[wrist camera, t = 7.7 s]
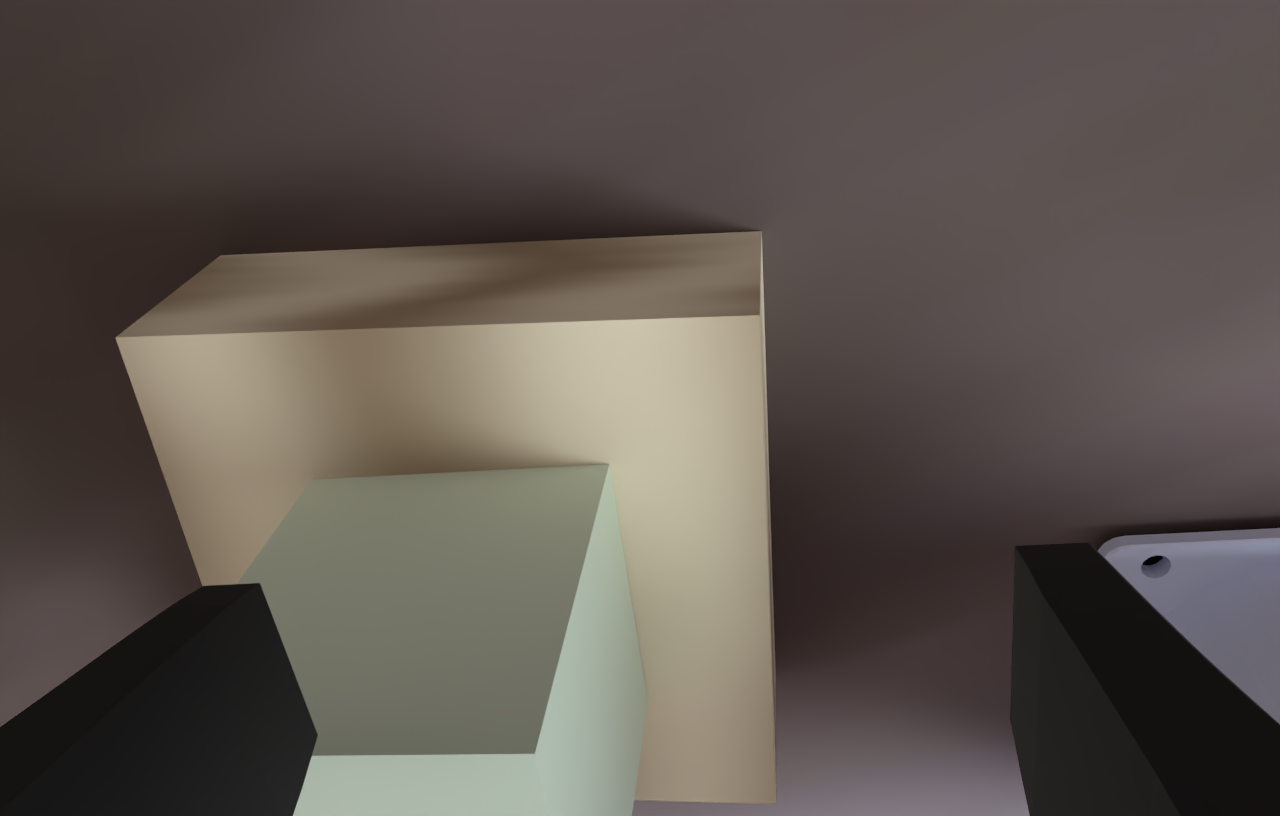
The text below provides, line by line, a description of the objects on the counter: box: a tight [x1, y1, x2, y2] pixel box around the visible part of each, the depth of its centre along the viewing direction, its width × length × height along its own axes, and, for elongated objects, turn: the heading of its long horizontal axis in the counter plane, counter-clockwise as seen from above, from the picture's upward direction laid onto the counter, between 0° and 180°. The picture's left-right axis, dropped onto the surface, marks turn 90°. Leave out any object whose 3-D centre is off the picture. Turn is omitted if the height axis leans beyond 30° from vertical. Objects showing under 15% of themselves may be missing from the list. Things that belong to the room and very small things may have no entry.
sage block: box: [237, 464, 648, 816], centre depth 16 cm, size 5×5×6 cm
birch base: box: [115, 231, 776, 804], centre depth 20 cm, size 10×10×4 cm
